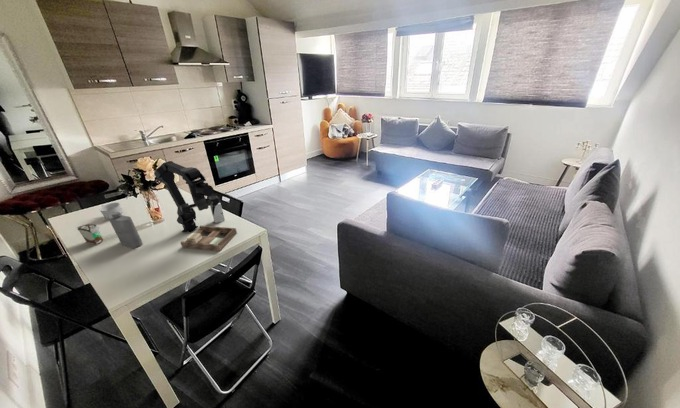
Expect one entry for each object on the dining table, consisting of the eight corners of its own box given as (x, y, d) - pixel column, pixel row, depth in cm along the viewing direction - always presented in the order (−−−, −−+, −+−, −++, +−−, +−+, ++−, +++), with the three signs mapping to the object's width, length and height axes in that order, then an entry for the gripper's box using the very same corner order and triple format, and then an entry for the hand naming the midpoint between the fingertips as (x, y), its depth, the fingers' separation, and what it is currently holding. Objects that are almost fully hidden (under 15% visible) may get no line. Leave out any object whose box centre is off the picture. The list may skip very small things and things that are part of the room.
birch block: (188, 242, 144) (186, 238, 143) (194, 237, 148) (192, 232, 147) (196, 243, 143) (194, 238, 142) (202, 237, 147) (200, 233, 146)
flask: (117, 243, 149) (101, 213, 139) (128, 238, 153) (113, 208, 144) (134, 249, 143) (118, 218, 134) (144, 243, 148) (130, 213, 138)
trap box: (182, 247, 143) (180, 241, 142) (202, 230, 158) (200, 224, 156) (220, 251, 139) (218, 245, 137) (237, 233, 154) (235, 227, 152)
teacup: (127, 215, 179) (122, 204, 175) (108, 222, 171) (102, 211, 167) (118, 210, 185) (113, 200, 182) (99, 217, 177) (94, 206, 174)
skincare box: (215, 223, 165) (210, 206, 159) (213, 220, 168) (208, 203, 162) (225, 220, 168) (220, 203, 162) (224, 217, 171) (219, 201, 165)
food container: (110, 239, 153) (102, 224, 148) (99, 245, 148) (90, 230, 143) (96, 235, 157) (88, 221, 152) (84, 241, 152) (76, 227, 147)
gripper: (180, 203, 128) (189, 229, 135) (219, 192, 138) (226, 217, 145) (175, 195, 135) (184, 220, 143) (213, 185, 145) (220, 210, 153)
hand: (204, 217), depth 146 cm, fingers open, 9 cm apart
